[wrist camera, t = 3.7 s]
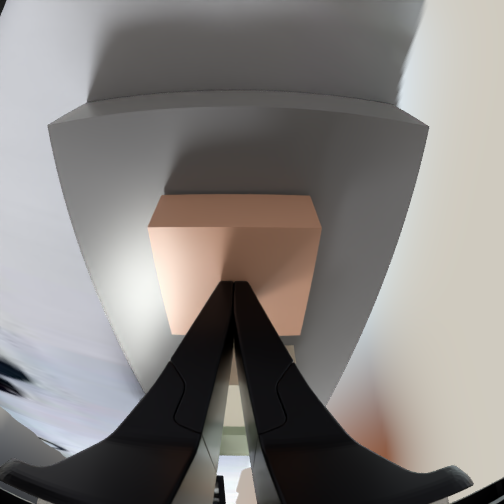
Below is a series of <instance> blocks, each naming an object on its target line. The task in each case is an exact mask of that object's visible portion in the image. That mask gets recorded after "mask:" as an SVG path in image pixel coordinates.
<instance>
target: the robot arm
mask: <svg viewBox="0 0 504 504" xmlns="http://www.w3.org/2000/svg"><path fill="white" fill-rule="evenodd" d="M233 350H234V352H235V361H236V368H237V375H238V383H239V390H240V397H241V404H242V411H243V417H244V424H245V431H246V437H247V444H248V450H249V456H250V463H251V469H252V473H253V474H252V475H253V481H254V487H255V493H256V499H257V504H449V502H448V496H451V495H453V494H455V493H458V492H460V491H462V490H464V489H467V488H468V487H471V486H473V484H474V483H473V482H472V480H471V479H470V477H469V476H468V475H467V474H466V473H464V472H463V471H462V470H461V469H459V468H458V467H457V466H453V465H452V466H448V467H445V468H442V469H439V470H436V471H433V472H430V473H416V472H412V471H409V470H407V469H404V468H402V467H401V466H399V465H397V464H395V463H393V462H391V461H389V460H387V459H385V458H384V457H382V456H380V455H378V454H376V453H375V452H373V451H371V450H369V449H367V448H366V447H364V446H362V445H360V444H359V443H358V442H356V441H355V440H354V439H353V438H351V437H350V436H349V435H348V434H347V432H346V431H345V430H344V429H343V428H342V427H341V426H340V424H339V423H338V422H337V421H336V419H335V418H334V417H333V416H332V414H331V413H330V412H329V411H328V410H327V408H326V407H325V406H324V405H323V403H322V402H321V401H320V400H319V398H318V397H317V396H316V394H315V393H314V392H313V390H312V389H311V388H310V386H309V385H308V383H307V382H306V380H305V379H304V377H303V375H302V374H301V372H300V371H299V369H298V367H297V365H296V364H295V363H294V362H293V359H292V357H291V355H290V354H289V352H288V350H287V349H286V347H285V345H284V343H283V342H282V340H281V338H280V336H279V335H278V333H277V331H276V330H275V328H274V326H273V324H272V323H271V321H270V319H269V317H268V316H267V314H266V312H265V310H264V309H263V307H262V305H261V303H260V302H259V300H258V298H257V296H256V295H255V293H254V291H253V289H252V288H251V286H250V284H249V283H248V282H247V281H235V282H233V281H220V282H219V283H218V285H217V286H216V288H215V289H214V291H213V292H212V294H211V296H210V297H209V299H208V300H207V302H206V303H205V305H204V307H203V308H202V310H201V311H200V313H199V314H198V316H197V317H196V319H195V321H194V322H193V324H192V325H191V327H190V328H189V330H188V332H187V333H186V335H185V336H184V338H183V340H182V341H181V343H180V344H179V346H178V347H177V349H176V351H175V352H174V354H173V355H172V357H171V359H170V361H169V362H168V363H167V365H166V366H165V368H164V369H163V371H162V372H161V374H160V375H159V377H158V378H157V380H156V381H155V383H154V384H153V385H152V387H151V388H150V389H149V391H148V392H147V393H146V394H145V396H144V397H143V398H142V399H141V401H140V402H139V403H138V404H137V405H136V406H135V408H134V409H133V410H132V411H131V412H130V414H129V415H128V416H127V417H126V418H125V420H124V421H123V422H122V423H121V424H120V426H119V427H118V428H117V429H116V430H115V431H114V432H113V433H112V434H111V435H109V436H108V437H107V438H105V439H104V440H102V441H101V442H99V443H97V444H95V445H93V446H91V447H89V448H87V449H85V450H83V451H81V452H79V453H77V454H75V455H73V456H71V457H68V458H66V459H64V460H62V461H60V462H58V463H55V464H53V465H49V466H34V465H31V464H28V463H26V462H23V461H21V460H17V459H14V458H12V459H11V460H9V461H7V462H6V463H5V464H3V465H2V466H1V467H0V481H3V482H4V483H6V484H8V485H10V486H13V487H15V488H17V489H19V490H21V491H24V492H26V493H28V494H30V495H33V496H35V497H37V498H38V502H37V504H226V502H225V491H224V479H223V476H219V475H217V474H216V473H217V467H218V460H219V453H220V445H221V438H222V431H223V424H224V416H225V409H226V402H227V395H228V387H229V380H230V373H231V366H232V359H233ZM216 475H217V476H216ZM0 504H34V503H31V502H29V501H27V500H25V499H22V498H20V497H18V496H16V495H14V494H12V493H10V492H8V491H6V490H4V489H2V488H0ZM450 504H504V477H503V478H501V479H499V480H498V481H496V482H494V483H492V484H490V485H488V486H486V487H484V488H482V489H480V490H478V491H476V492H474V493H472V494H470V495H468V496H466V497H463V498H462V499H459V500H457V501H455V502H452V503H450Z"/></svg>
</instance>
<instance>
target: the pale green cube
mask: <svg viewBox="0 0 504 504" xmlns="http://www.w3.org/2000/svg"><path fill="white" fill-rule="evenodd" d="M219 455H233V456H249V450H248V444H247V437H246V431H245V427H231V426H223V431H222V438H221V445H220V453H219Z"/></svg>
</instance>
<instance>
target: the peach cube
mask: <svg viewBox="0 0 504 504" xmlns="http://www.w3.org/2000/svg"><path fill="white" fill-rule="evenodd" d="M147 228H148V233H149V238H150V243H151V248H152V253H153V258H154V263H155V267H156V272H157V276H158V281H159V285H160V289H161V294H162V298H163V302H164V306H165V310H166V314H167V318H168V322H169V325H170V329H171V333H172V335H186V333H187V332H188V330H189V328H190V327H191V325H192V324H193V322H194V321H195V319H196V317H197V316H198V314H199V313H200V311H201V310H202V308H203V307H204V305H205V303H206V302H207V300H208V299H209V297H210V296H211V294H212V292H213V291H214V289H215V288H216V286H217V285H218V283H219V282H220V281H233V282H235V281H247V282H248V283H249V284H250V286H251V288H252V289H253V291H254V293H255V295H256V296H257V298H258V300H259V302H260V303H261V305H262V307H263V309H264V310H265V312H266V314H267V316H268V317H269V319H270V321H271V323H272V324H273V326H274V328H275V330H276V331H277V333H278V335H279V336H291V335H300V333H301V329H302V325H303V320H304V316H305V311H306V306H307V302H308V297H309V292H310V288H311V283H312V278H313V273H314V268H315V263H316V257H317V252H318V247H319V241H320V236H321V230H322V227H321V224H320V221H319V219H318V216H317V213H316V210H315V208H314V205H313V202H312V199H311V197H310V196H307V195H268V194H184V195H161V197H160V199H159V202H158V204H157V206H156V209H155V211H154V213H153V215H152V218H151V220H150V222H149V225H148V227H147Z"/></svg>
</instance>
